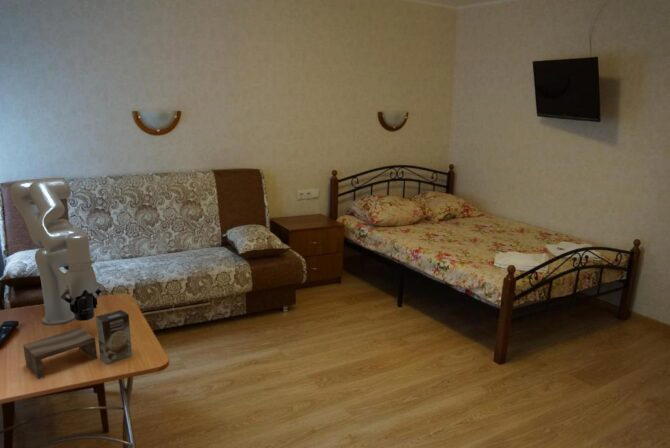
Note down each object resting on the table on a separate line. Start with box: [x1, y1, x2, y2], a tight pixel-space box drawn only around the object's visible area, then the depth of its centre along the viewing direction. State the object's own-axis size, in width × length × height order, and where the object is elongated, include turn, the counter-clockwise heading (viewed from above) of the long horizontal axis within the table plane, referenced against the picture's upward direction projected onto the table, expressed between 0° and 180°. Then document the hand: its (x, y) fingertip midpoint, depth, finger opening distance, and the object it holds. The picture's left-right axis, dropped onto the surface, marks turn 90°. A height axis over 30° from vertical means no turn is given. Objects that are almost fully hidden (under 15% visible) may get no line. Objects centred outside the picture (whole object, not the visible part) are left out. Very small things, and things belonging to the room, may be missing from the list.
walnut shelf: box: [22, 327, 98, 380], centre depth 176 cm, size 12×19×8 cm, turn 137°
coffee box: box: [95, 309, 133, 365], centre depth 179 cm, size 9×6×16 cm
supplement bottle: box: [74, 290, 95, 322], centre depth 193 cm, size 7×7×12 cm
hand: (84, 309), depth 193 cm, fingers closed on supplement bottle, 6 cm apart
